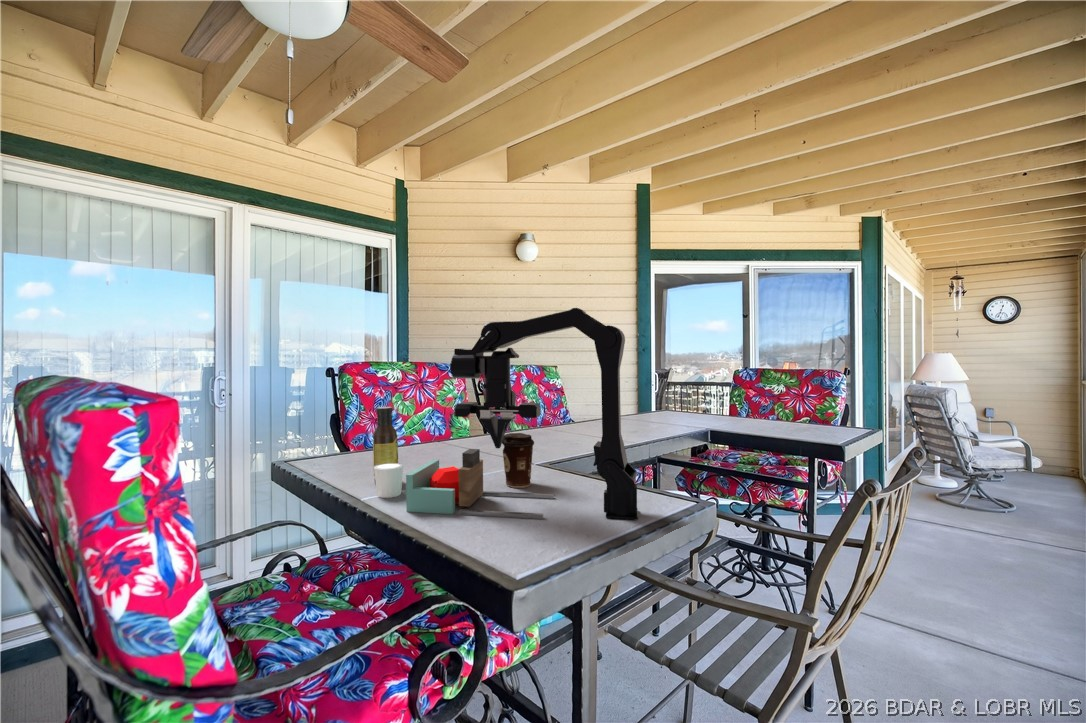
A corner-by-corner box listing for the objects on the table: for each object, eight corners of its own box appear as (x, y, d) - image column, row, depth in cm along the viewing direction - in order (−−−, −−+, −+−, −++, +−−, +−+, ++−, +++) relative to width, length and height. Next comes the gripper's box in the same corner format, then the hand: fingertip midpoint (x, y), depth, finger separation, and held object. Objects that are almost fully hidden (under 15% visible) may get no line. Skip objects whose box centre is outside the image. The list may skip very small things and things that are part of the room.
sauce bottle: (402, 482, 132) (401, 407, 131) (380, 487, 128) (379, 409, 127) (391, 477, 137) (390, 405, 136) (369, 482, 132) (368, 407, 132)
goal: (474, 493, 121) (474, 461, 121) (452, 514, 106) (452, 476, 106) (433, 491, 123) (433, 459, 123) (406, 511, 108) (406, 474, 108)
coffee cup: (498, 489, 125) (498, 437, 124) (502, 480, 133) (502, 432, 133) (533, 489, 124) (533, 437, 124) (535, 480, 133) (535, 432, 132)
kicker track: (554, 497, 117) (554, 494, 117) (542, 519, 103) (542, 515, 103) (480, 494, 121) (480, 490, 121) (459, 514, 106) (459, 510, 106)
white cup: (400, 488, 126) (400, 461, 126) (406, 495, 120) (406, 466, 120) (371, 492, 123) (371, 464, 122) (377, 500, 116) (376, 470, 116)
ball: (426, 500, 116) (426, 468, 115) (458, 495, 120) (457, 463, 120) (440, 510, 109) (440, 475, 109) (473, 503, 114) (473, 470, 113)
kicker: (483, 493, 118) (482, 447, 118) (469, 506, 108) (469, 456, 108) (473, 492, 118) (473, 446, 118) (459, 505, 109) (458, 455, 108)
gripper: (544, 376, 118) (545, 442, 118) (469, 376, 121) (469, 440, 122) (535, 379, 107) (536, 452, 107) (452, 379, 110) (453, 449, 111)
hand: (498, 448), depth 112 cm, fingers closed
